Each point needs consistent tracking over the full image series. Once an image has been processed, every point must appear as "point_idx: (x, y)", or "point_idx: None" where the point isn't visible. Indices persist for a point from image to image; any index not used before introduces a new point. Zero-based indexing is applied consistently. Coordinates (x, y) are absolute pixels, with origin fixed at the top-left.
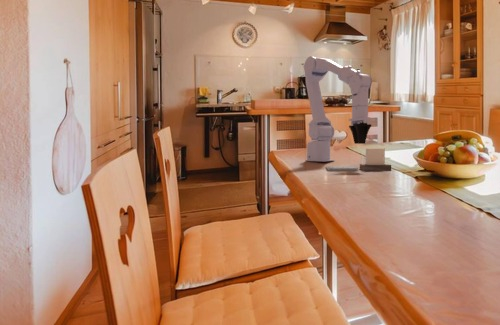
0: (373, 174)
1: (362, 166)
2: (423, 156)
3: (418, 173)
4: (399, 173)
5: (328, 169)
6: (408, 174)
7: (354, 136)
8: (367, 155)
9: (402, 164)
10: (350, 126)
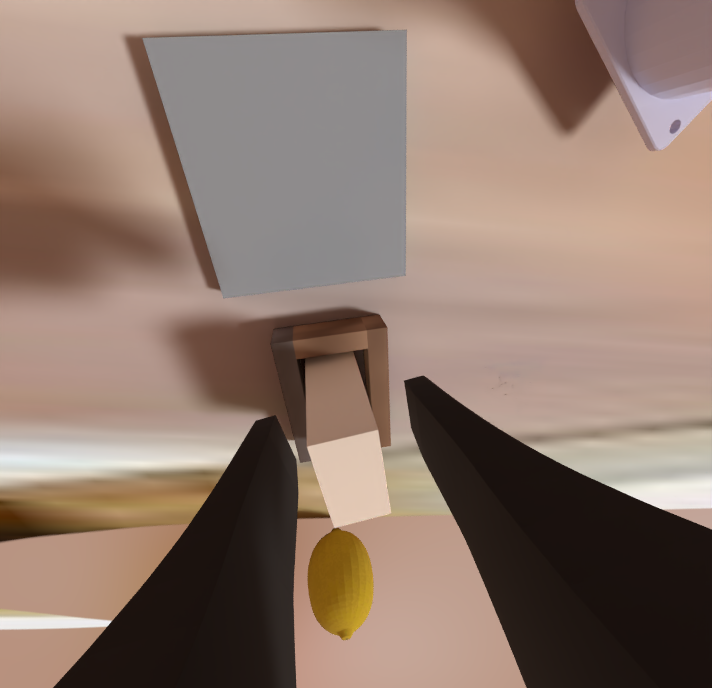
0: (3, 359)
1: (307, 333)
2: (312, 587)
3: (167, 510)
4: (138, 460)
5: (210, 42)
6: (95, 484)
7: (445, 442)
8: (321, 402)
9: (617, 483)
10: (700, 685)
